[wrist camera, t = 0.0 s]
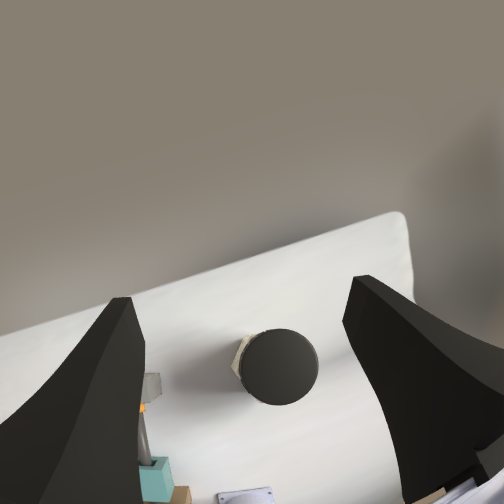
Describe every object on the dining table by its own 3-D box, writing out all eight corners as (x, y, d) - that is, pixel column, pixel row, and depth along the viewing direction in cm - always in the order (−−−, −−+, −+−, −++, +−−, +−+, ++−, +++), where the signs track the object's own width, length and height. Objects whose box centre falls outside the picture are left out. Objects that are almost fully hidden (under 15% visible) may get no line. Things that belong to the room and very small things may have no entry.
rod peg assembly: (191, 498, 31) (187, 526, 23) (140, 497, 30) (126, 523, 22) (169, 372, 37) (158, 378, 29) (116, 373, 36) (93, 377, 28)
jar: (247, 323, 41) (259, 312, 30) (300, 343, 41) (331, 340, 29) (223, 381, 38) (225, 393, 27) (277, 401, 38) (300, 419, 26)
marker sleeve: (174, 486, 29) (169, 502, 24) (139, 485, 28) (131, 500, 24) (167, 456, 31) (161, 470, 26) (132, 455, 30) (122, 468, 25)
